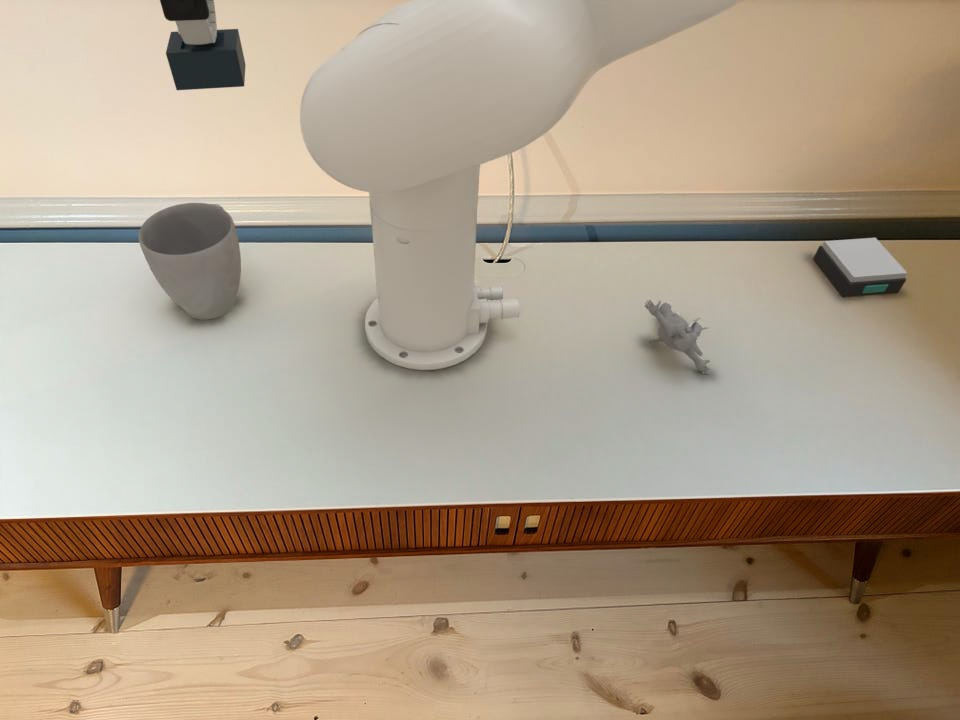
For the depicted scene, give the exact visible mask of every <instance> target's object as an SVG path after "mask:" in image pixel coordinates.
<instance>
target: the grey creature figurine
mask: <svg viewBox="0 0 960 720" xmlns="http://www.w3.org/2000/svg"><path fill="white" fill-rule="evenodd" d="M644 308H645V309H646V310H648V313H649V314H650V315H651V316H653V317H655V318H656V320H657V321H658V323H659V326H658V330H657V336H658V338H656V339H653V340H649V344H653V343H654V344H655V343H663V344H664V346H666V347H667V348H669V349H672V350H675V351H678V352H681V353H683V354H685V355H686V356H687V357H688V358H689V359H690V360H691V361H693V363H694V365H695V367H696V369H697V370H698V371H700V372H701V373H702V374H705V375H707V374H709V373H710V372H711V371H712V369H711V368H709V367H708V366H707V365H708V363H711V361H712V360H711V359H701V358H700V357H702V356H703V352H702V349H700V347H699V345H698V344H697V340H698V338H699V337H700V335H701V333H702V331H704V330H706V329H709V326H702V325H701V324H700V323H699V322H698V321H700V320H701V317H697V318H694V319H692V320H691V321H690V322H687V321H686V320H685V319H684V318H683V317H682V315H681V313H680V312H679V311H676V312H673V310H672V308H673V304H672V302H670V301H666V302H664V303H662V301H661V300H660V301H658V303H657V304H656V305H655V304H654V303H653V301H652V299H649V300H646V302H644Z"/></svg>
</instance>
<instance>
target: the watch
mask: <svg viewBox="0 0 960 720" xmlns="http://www.w3.org/2000/svg"><path fill="white" fill-rule="evenodd" d="M206 1H207V5H208V9H209V17H208V18H207V19H206V20H186V21H174V22H175V25H176V27H177V31H170V34H169V38H168V42H167V46H166V50H165V56H166V59H167V62H168V65H169V69H170V72H171V76H172V79H173V83H174V85H175V90H176V91H189V90H191V91H192V90H207V89H222V88H223V89H224V88H241V87H245V82H246V81H245V80H246V60H245V56H244V49H243V46H242V41H241V37H240V32H239V29H238V28H227V29H225V28H224V29H218V25H217V14H216V5H215V4H216V3H215V0H206Z"/></svg>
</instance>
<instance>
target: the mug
mask: <svg viewBox="0 0 960 720" xmlns="http://www.w3.org/2000/svg"><path fill="white" fill-rule="evenodd" d="M236 228H237V227H236V225H235V222H234V220H233V217H232V216H231V215H230V213H229V212H228V211H226V210H225V208H224V207H222V206H221V205H220V204H218V203H206V202H186V203H179V204H175V205H171V206H168V207H165V208H163V209H161V210H159V211H157V212H154V213H153V214H152V215H150V216H149V217H148V218H147V219H146V220H145V221H144V222H143V223H142V224H141V226H140V229H139V233H138V241H139V245H140V249H141V251H142V254H143V256H144V258H145V261H146V263H147V265H148V267H149V269H150V271H151V273H152V275H153V276H154V278H155V279H156V281H157V282H158V284H159V286H160V288H161V289H162V290H163V291H164V293H166V295H167V296H168V297H169V298H170V299H171V300H172V301H173V302H174V303H176V304H177V305H178V306H179V307H180V308H182V309H183V311H184V312H185V313H186V314H187V316H189V317H190V318H193V319H196V320H202V321H203V320H214V319H217V318H220V317H223V316H225V315H227V314H228V313H229V312H231V311H232V309H233V308H234V306H235V305H236V302H237V294H238V290H239V287H240V282H241V274H242V257H241V256H242V255H241V249H240V242H239V236H238V232H237V229H236Z"/></svg>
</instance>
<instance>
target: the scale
mask: <svg viewBox="0 0 960 720" xmlns="http://www.w3.org/2000/svg"><path fill="white" fill-rule="evenodd" d="M812 259H813V261H814V262H815V264H816V265H817V266H818V268H819V269H820V270H821V271H822V273H823V274H824V275H825V277H826V278H827V279H828V280H829V282H830V283H831V284H832V286H834V288H835V290H836V291H837V293H839V295H840V296H841V297H842V298H853V297H863V296H876V295H887V294H897V293H900V291H901V289H902V288H903V286H904V284H905V283H906V281H907V278H906V277H907V274H908V272H907V271H906V269H904V268H903V266H902V265H901V264H900V263H899V262H898V260H897V259H896V258H894V256H893V255H892V254H891V253H890V251H888V249H886V247H885V246H884V245H883V244H882V243H881V242H880V241H879V240H878V238H877V237H867V238H866V237H863V238H852V239H851V238H850V239H837V240H836V239H833V240H825V241H823V244H822V245H819V246H818V248H817V250H816V252H815V254H814V256H813V257H812Z"/></svg>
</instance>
